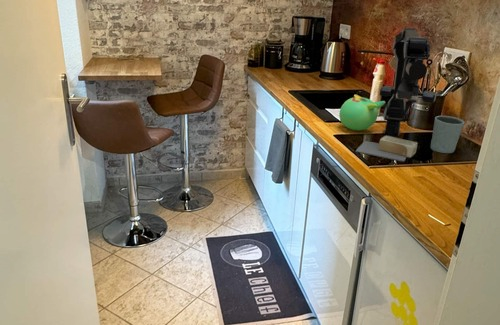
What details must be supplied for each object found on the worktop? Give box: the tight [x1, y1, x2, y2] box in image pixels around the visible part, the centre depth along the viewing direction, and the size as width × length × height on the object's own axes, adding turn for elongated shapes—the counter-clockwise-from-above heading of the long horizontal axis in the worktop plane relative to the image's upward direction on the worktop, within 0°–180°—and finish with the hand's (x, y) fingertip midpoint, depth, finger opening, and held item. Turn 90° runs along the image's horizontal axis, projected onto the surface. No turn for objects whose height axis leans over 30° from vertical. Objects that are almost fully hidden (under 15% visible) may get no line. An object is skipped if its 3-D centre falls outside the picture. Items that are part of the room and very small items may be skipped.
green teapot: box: [338, 94, 386, 132], centre depth 174 cm, size 18×17×15 cm
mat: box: [355, 140, 408, 162], centre depth 153 cm, size 13×18×1 cm
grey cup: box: [430, 115, 465, 154], centre depth 154 cm, size 10×10×12 cm
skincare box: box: [378, 135, 418, 158], centre depth 151 cm, size 6×4×12 cm
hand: (403, 116), depth 150 cm, fingers closed
